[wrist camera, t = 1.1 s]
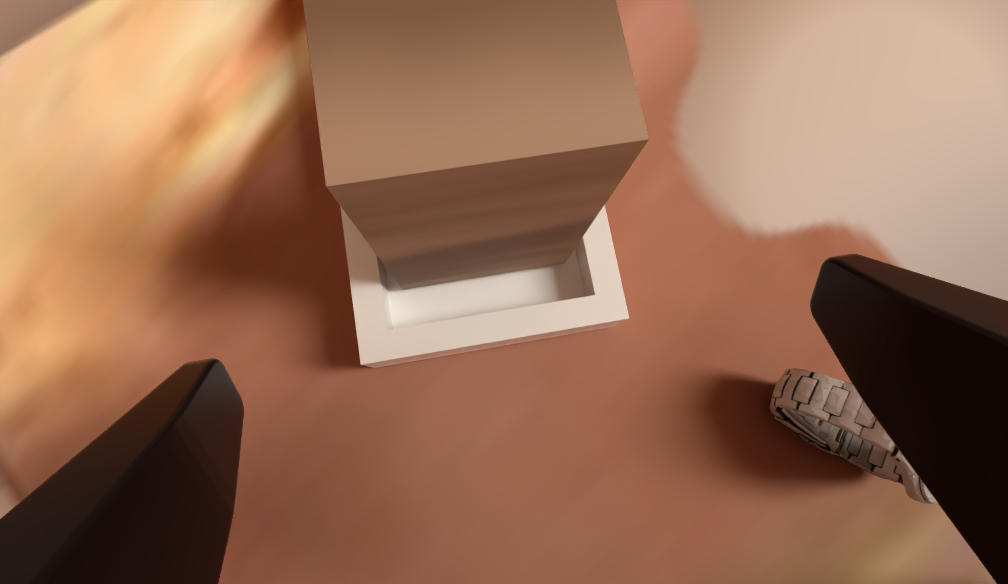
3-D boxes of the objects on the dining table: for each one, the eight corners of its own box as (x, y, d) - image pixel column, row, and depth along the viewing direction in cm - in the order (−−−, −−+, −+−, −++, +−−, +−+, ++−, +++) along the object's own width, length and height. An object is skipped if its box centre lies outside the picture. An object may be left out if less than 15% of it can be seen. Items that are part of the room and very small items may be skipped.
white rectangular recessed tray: (611, 326, 21) (629, 318, 19) (374, 367, 20) (360, 364, 18) (531, -50, 24) (537, -100, 21) (322, -25, 23) (304, -75, 21)
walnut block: (564, 263, 20) (649, 139, 10) (402, 289, 19) (326, 186, 10) (544, 163, 21) (604, -45, 11) (387, 186, 20) (301, -10, 10)
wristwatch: (879, 505, 20) (1007, 541, 15) (733, 422, 21) (813, 432, 16) (912, 421, 21) (1045, 431, 16) (770, 343, 21) (858, 328, 16)
